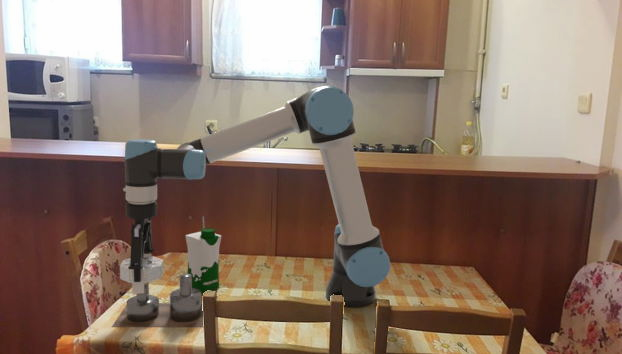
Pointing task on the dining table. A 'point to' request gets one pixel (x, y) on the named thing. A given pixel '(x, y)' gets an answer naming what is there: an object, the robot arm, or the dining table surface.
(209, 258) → the milk carton
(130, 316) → the hub post
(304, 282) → the dining table surface
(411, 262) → the dining table surface
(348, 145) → the robot arm
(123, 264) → the steel ring
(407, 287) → the dining table surface
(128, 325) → the board
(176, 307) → the stand post
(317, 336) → the dining table surface
